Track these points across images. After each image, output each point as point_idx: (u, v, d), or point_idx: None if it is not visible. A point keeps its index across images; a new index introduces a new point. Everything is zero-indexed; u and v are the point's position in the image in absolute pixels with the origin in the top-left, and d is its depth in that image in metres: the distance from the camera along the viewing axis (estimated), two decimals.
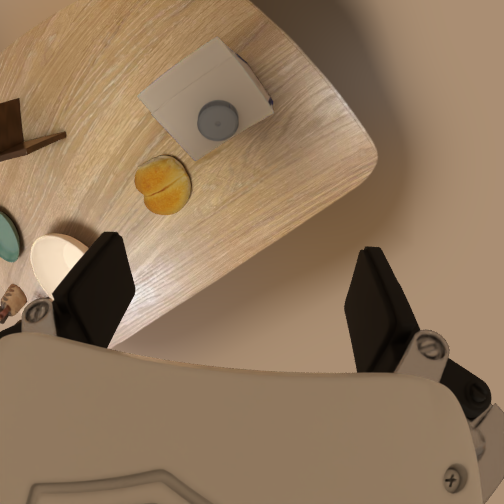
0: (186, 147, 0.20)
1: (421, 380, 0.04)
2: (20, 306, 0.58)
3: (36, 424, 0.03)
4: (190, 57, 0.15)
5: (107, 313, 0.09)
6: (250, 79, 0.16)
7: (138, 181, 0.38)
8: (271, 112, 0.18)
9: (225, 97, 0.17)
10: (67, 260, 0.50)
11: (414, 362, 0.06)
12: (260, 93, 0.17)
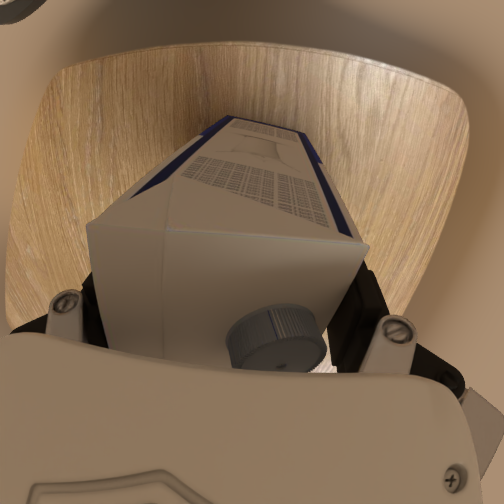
0: None
1: (421, 380, 0.04)
2: None
3: (36, 424, 0.03)
4: (104, 300, 0.07)
5: None
6: (261, 238, 0.06)
7: None
8: (364, 250, 0.07)
9: (250, 304, 0.08)
10: None
11: (382, 349, 0.06)
12: (311, 242, 0.07)
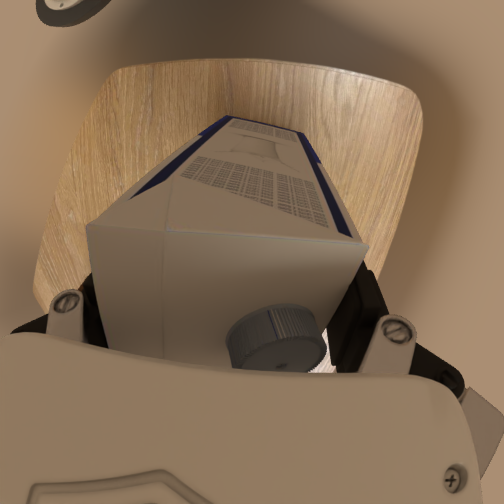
0: None
1: (421, 380, 0.04)
2: None
3: (36, 424, 0.03)
4: (104, 301, 0.07)
5: None
6: (261, 238, 0.06)
7: None
8: (364, 250, 0.07)
9: (250, 304, 0.08)
10: None
11: (382, 348, 0.06)
12: (311, 242, 0.07)
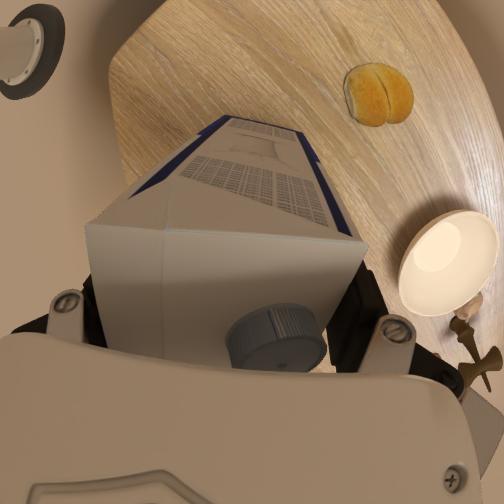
0: None
1: (421, 380, 0.04)
2: None
3: (36, 424, 0.03)
4: (103, 301, 0.07)
5: None
6: (261, 237, 0.06)
7: (371, 116, 0.28)
8: (364, 249, 0.07)
9: (249, 303, 0.08)
10: (430, 267, 0.42)
11: (381, 348, 0.06)
12: (311, 241, 0.07)
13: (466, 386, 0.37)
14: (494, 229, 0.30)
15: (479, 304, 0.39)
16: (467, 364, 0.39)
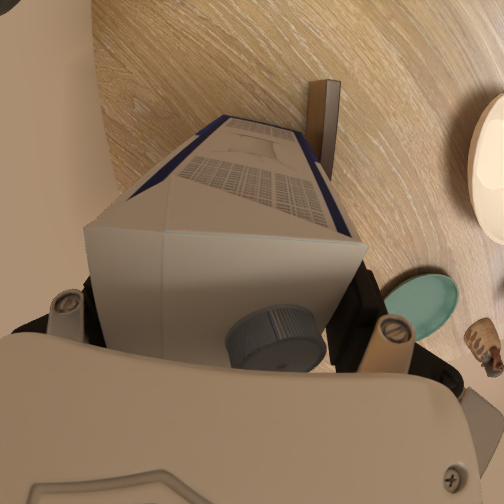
0: None
1: (421, 380, 0.04)
2: (495, 330, 0.37)
3: (36, 424, 0.03)
4: (102, 302, 0.07)
5: None
6: (260, 239, 0.06)
7: None
8: (363, 250, 0.07)
9: (249, 305, 0.08)
10: (492, 183, 0.26)
11: (381, 348, 0.06)
12: (311, 242, 0.07)
13: None
14: None
15: None
16: None
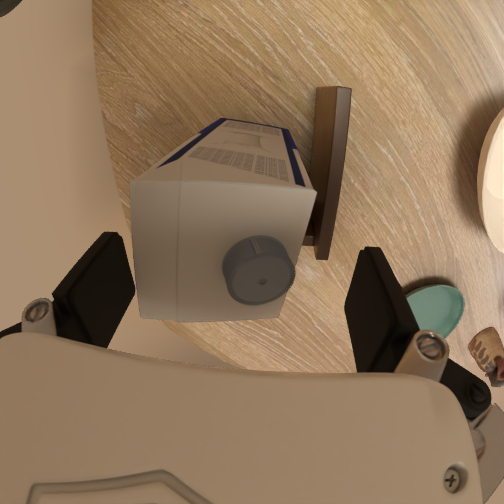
0: (253, 316, 0.14)
1: (421, 380, 0.04)
2: (500, 339, 0.36)
3: (36, 424, 0.03)
4: (137, 236, 0.10)
5: (107, 313, 0.09)
6: (239, 185, 0.10)
7: None
8: (313, 194, 0.11)
9: (236, 235, 0.11)
10: (500, 192, 0.25)
11: (414, 362, 0.06)
12: (273, 187, 0.10)
13: None
14: None
15: None
16: None
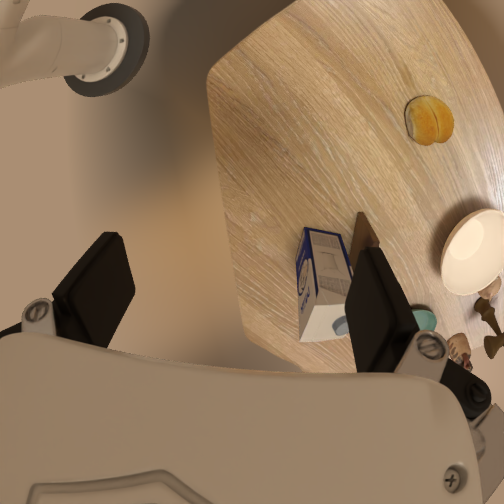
0: (336, 338, 0.37)
1: (421, 380, 0.04)
2: (467, 342, 0.59)
3: (36, 424, 0.03)
4: (310, 318, 0.34)
5: (107, 313, 0.09)
6: (343, 304, 0.33)
7: (426, 138, 0.35)
8: None
9: (338, 315, 0.35)
10: (460, 256, 0.48)
11: (414, 362, 0.06)
12: None
13: (492, 355, 0.43)
14: None
15: (499, 286, 0.45)
16: (491, 337, 0.45)
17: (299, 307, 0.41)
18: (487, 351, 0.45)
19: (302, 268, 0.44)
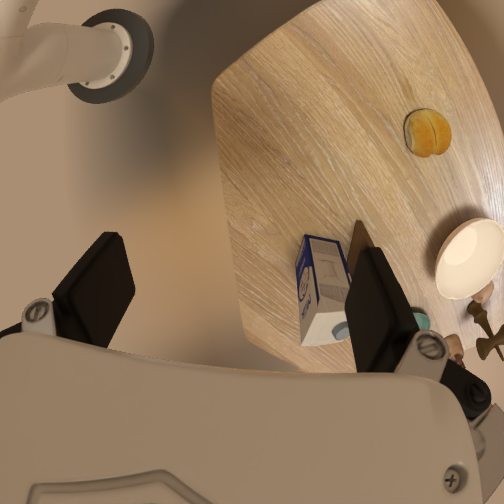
0: (335, 341, 0.39)
1: (421, 380, 0.04)
2: (460, 343, 0.62)
3: (36, 424, 0.03)
4: (312, 325, 0.36)
5: (107, 313, 0.09)
6: (342, 311, 0.35)
7: (424, 151, 0.37)
8: None
9: (338, 321, 0.37)
10: (454, 261, 0.50)
11: (414, 362, 0.06)
12: None
13: (484, 356, 0.46)
14: (503, 231, 0.39)
15: (491, 290, 0.48)
16: (484, 339, 0.48)
17: (300, 312, 0.43)
18: (479, 352, 0.48)
19: (302, 275, 0.46)
